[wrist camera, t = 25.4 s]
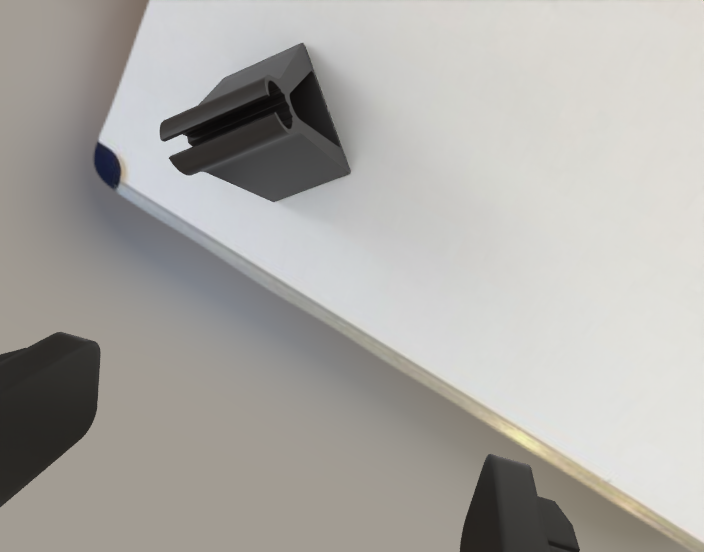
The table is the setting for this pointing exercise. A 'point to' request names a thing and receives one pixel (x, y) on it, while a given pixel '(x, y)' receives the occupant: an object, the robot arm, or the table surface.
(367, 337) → the table surface
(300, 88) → the phone stand
